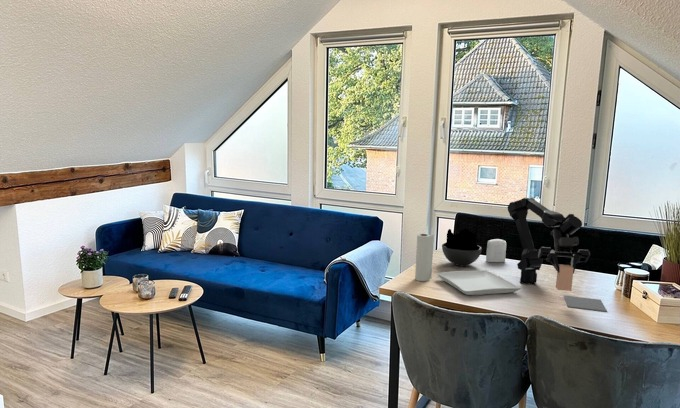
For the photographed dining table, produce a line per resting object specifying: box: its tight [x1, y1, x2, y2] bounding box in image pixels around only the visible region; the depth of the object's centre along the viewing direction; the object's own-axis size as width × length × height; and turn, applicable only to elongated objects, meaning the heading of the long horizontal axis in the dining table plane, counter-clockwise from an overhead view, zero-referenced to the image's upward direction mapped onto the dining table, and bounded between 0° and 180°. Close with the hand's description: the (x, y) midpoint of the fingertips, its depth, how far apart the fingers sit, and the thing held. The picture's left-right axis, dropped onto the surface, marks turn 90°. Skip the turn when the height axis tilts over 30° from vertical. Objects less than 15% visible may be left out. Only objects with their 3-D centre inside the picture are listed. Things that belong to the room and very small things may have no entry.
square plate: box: [435, 269, 522, 296], centre depth 216 cm, size 27×27×4 cm
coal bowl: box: [441, 228, 483, 267], centre depth 250 cm, size 20×20×19 cm
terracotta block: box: [555, 263, 574, 292], centre depth 194 cm, size 5×4×10 cm
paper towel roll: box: [414, 233, 435, 282], centre depth 222 cm, size 7×6×21 cm
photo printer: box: [485, 238, 507, 263], centre depth 259 cm, size 10×4×12 cm, turn 98°
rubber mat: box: [563, 294, 608, 313], centre depth 197 cm, size 14×14×1 cm
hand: (566, 272), depth 192 cm, fingers closed on terracotta block, 5 cm apart
